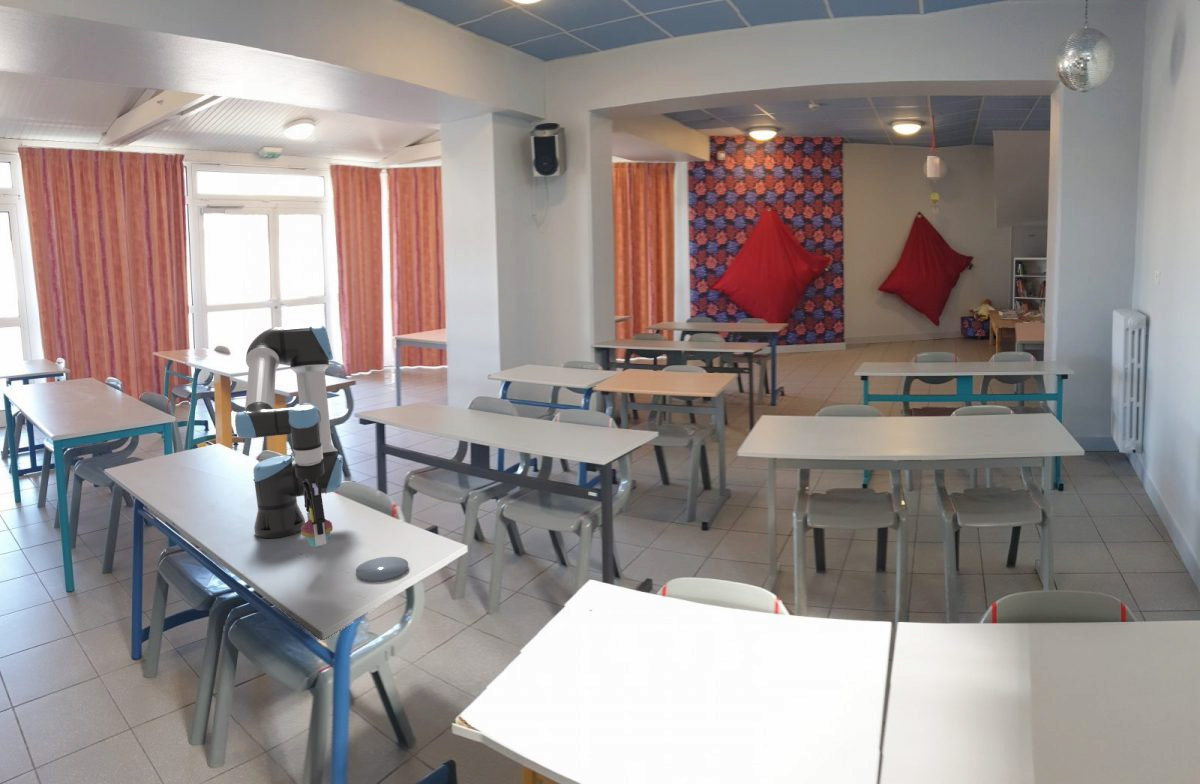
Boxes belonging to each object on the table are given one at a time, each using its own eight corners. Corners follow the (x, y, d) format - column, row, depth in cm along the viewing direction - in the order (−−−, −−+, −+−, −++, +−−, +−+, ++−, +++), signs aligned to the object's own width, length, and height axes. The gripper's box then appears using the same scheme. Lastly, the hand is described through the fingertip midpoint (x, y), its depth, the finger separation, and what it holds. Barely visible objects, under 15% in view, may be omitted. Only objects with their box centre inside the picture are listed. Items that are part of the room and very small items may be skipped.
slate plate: (346, 579, 216) (345, 575, 216) (373, 559, 229) (372, 555, 229) (392, 583, 212) (392, 579, 212) (417, 562, 226) (417, 558, 225)
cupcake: (323, 550, 219) (319, 509, 217) (296, 548, 221) (291, 508, 218) (339, 538, 228) (335, 498, 225) (312, 536, 229) (308, 497, 227)
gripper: (287, 454, 226) (297, 529, 231) (301, 474, 208) (311, 555, 213) (315, 450, 230) (323, 524, 235) (331, 469, 212) (339, 548, 217)
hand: (317, 538), depth 224 cm, fingers closed on cupcake, 8 cm apart
